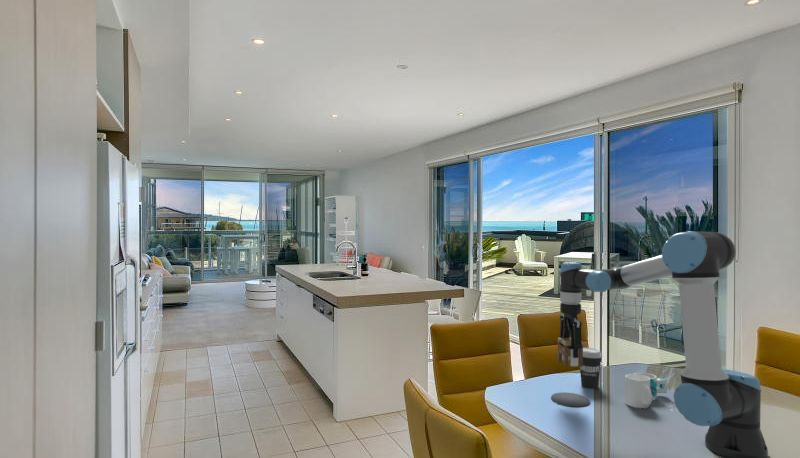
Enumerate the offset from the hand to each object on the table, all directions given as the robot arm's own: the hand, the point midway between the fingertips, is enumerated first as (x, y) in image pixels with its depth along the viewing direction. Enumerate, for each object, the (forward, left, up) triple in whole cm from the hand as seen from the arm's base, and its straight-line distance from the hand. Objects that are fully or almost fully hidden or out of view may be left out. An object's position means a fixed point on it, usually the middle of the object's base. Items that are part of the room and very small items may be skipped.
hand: (570, 362), depth 180 cm
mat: (0, 0, -14) cm, 14 cm away
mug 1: (-8, -23, -14) cm, 28 cm away
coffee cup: (+15, -15, -14) cm, 25 cm away
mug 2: (+2, -33, -14) cm, 36 cm away
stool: (0, 0, -1) cm, 1 cm away
